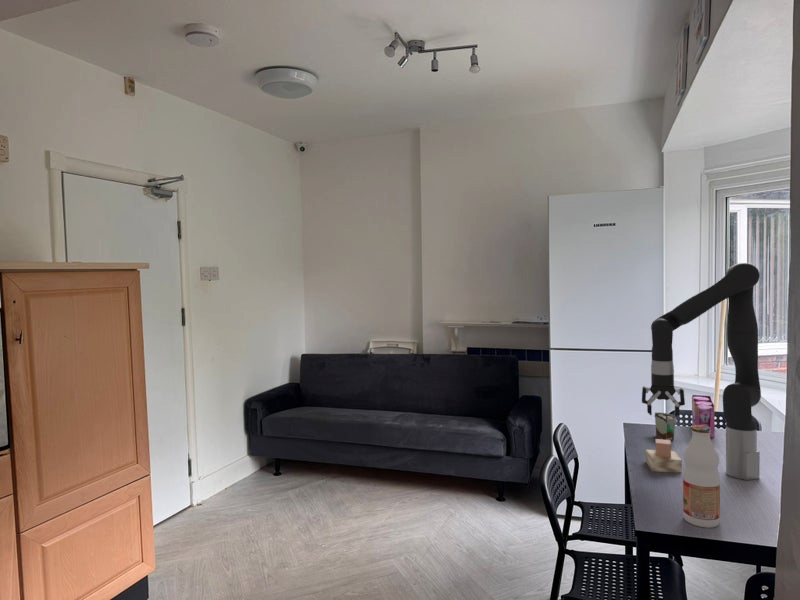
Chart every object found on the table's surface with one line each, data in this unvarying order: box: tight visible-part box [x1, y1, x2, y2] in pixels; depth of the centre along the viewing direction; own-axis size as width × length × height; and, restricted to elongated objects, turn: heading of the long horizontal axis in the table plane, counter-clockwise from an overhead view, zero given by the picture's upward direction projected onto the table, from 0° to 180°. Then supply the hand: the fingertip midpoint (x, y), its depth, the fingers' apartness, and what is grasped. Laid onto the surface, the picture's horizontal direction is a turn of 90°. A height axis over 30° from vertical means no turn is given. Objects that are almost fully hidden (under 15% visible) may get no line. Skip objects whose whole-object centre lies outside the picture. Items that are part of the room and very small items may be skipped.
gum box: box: [691, 394, 715, 439], centre depth 240 cm, size 24×8×14 cm, turn 154°
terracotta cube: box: [655, 438, 672, 458], centre depth 197 cm, size 5×5×5 cm
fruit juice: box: [682, 425, 721, 529], centre depth 154 cm, size 9×9×28 cm
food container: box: [653, 411, 678, 442], centre depth 230 cm, size 12×6×10 cm, turn 179°
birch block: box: [645, 449, 683, 474], centre depth 198 cm, size 10×10×5 cm
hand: (663, 415), depth 197 cm, fingers open, 8 cm apart
